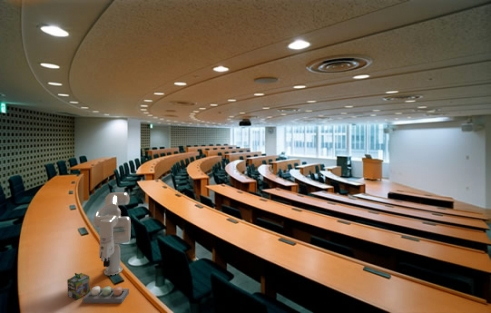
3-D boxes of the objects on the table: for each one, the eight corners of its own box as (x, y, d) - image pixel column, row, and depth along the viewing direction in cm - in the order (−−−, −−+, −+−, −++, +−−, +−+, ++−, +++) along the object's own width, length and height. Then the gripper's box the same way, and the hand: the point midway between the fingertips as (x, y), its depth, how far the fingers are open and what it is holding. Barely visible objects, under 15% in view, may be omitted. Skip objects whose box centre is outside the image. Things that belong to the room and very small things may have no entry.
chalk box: (90, 292, 161) (90, 271, 160) (76, 300, 152) (75, 278, 151) (81, 288, 164) (81, 267, 163) (67, 296, 156) (66, 274, 155)
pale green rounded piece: (101, 296, 153) (100, 290, 153) (105, 292, 158) (105, 286, 158) (108, 296, 153) (108, 291, 153) (112, 292, 158) (112, 286, 158)
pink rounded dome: (112, 296, 154) (112, 291, 153) (115, 292, 158) (115, 286, 158) (119, 297, 154) (119, 291, 153) (123, 292, 158) (123, 286, 158)
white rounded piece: (89, 296, 153) (89, 290, 153) (94, 291, 158) (94, 286, 157) (97, 296, 153) (97, 290, 153) (101, 291, 158) (101, 286, 158)
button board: (83, 302, 150) (83, 298, 150) (92, 292, 160) (92, 288, 160) (121, 303, 151) (121, 298, 151) (128, 293, 161) (128, 288, 161)
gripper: (106, 243, 145) (106, 272, 147) (118, 234, 160) (118, 260, 162) (93, 243, 145) (93, 272, 146) (106, 233, 160) (106, 260, 161)
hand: (106, 266), depth 154 cm, fingers closed
